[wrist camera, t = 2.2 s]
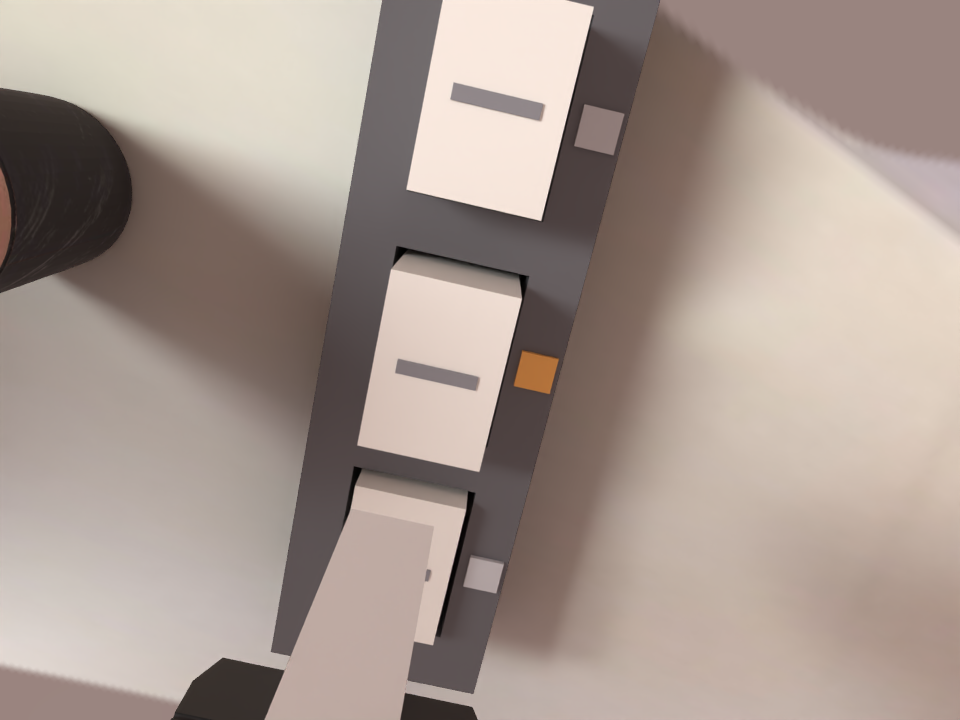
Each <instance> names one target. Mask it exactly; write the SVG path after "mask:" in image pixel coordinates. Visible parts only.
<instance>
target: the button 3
mask: <svg viewBox="0 0 960 720" xmlns="http://www.w3.org/2000/svg"><path fill="white" fill-rule="evenodd" d="M593 9H594V7H592V6H588V5H584V4H580V3H576V2H571V1H567V0H443V2H442V7H441V12H440V17H439V22H438V28H437V33H436V38H435V43H434V48H433V54H432V59H431V64H430V69H429V74H428V80H427V85H426V90H425V95H424V100H423V106H422V111H421V116H420V121H419V126H418V132H417V137H416V142H415V147H414V153H413V158H412V163H411V168H410V173H409V179H408V184H407V189H406V190H410V191H414V192H419V193H423V194H427V195H432V196H436V197H440V198H444V199H449V200H453V201H457V202H462V203H466V204H470V205H475V206H479V207H483V208H488V209H492V210H496V211H500V212H505V213H509V214H513V215H518V216H522V217H526V218H531V219H535V220H539V221H541V220H542V215H543V211H544V207H545V203H546V199H547V195H548V191H549V187H550V183H551V179H552V175H553V171H554V167H555V163H556V159H557V155H558V151H559V146H560V142H561V138H562V134H563V130H564V126H565V122H566V118H567V114H568V110H569V106H570V102H571V98H572V94H573V90H574V86H575V82H576V78H577V73H578V69H579V65H580V61H581V57H582V53H583V49H584V45H585V41H586V37H587V33H588V29H589V25H590V21H591V17H592V13H593Z"/></svg>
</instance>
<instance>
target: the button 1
mask: <svg viewBox="0 0 960 720" xmlns="http://www.w3.org/2000/svg"><path fill="white" fill-rule="evenodd" d="M467 495H468V491H466V490H461V489H456V488H452V487H447V486H443V485H438V484H433V483H429V482H424V481H420V480H415V479H411V478H406V477H401V476H397V475H392V474H388V473H383V472H378V471H374V470H369V469H365V468H363V469H362V471H361V473H360V476H359V478H358V480H357V483H356V485H355V489H354V494H353V500H352V505H351V509H355V510H360V511H365V512H369V513H374V514H378V515H383V516H388V517H392V518H397V519H402V520H406V521H411V522H415V523H420V524H425V525H429V526H434V531H433V536H432V542H431V548H430V553H429V559H428V565H427V571H426V576H425V582H424V588H423V593H422V599H421V605H420V610H419V616H418V622H417V627H416V633H415V639H414V641H415V642H419V643H424V644H429V645H433V643H434V639H435V635H436V631H437V626H438V622H439V618H440V614H441V610H442V606H443V602H444V598H445V594H446V590H447V586H448V582H449V577H450V573H451V569H452V565H453V561H454V557H455V553H456V549H457V545H458V541H459V537H460V532H461V528H462V524H463V520H464V516H465V512H466V505H467ZM350 511H351V510H350Z"/></svg>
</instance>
